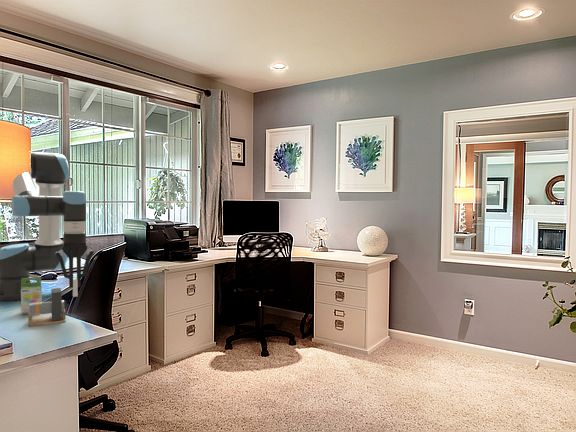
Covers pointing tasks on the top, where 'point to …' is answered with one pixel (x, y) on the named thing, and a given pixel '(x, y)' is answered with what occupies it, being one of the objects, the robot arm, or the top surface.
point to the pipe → (42, 308)
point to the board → (44, 320)
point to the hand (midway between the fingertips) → (75, 295)
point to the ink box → (30, 293)
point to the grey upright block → (56, 304)
